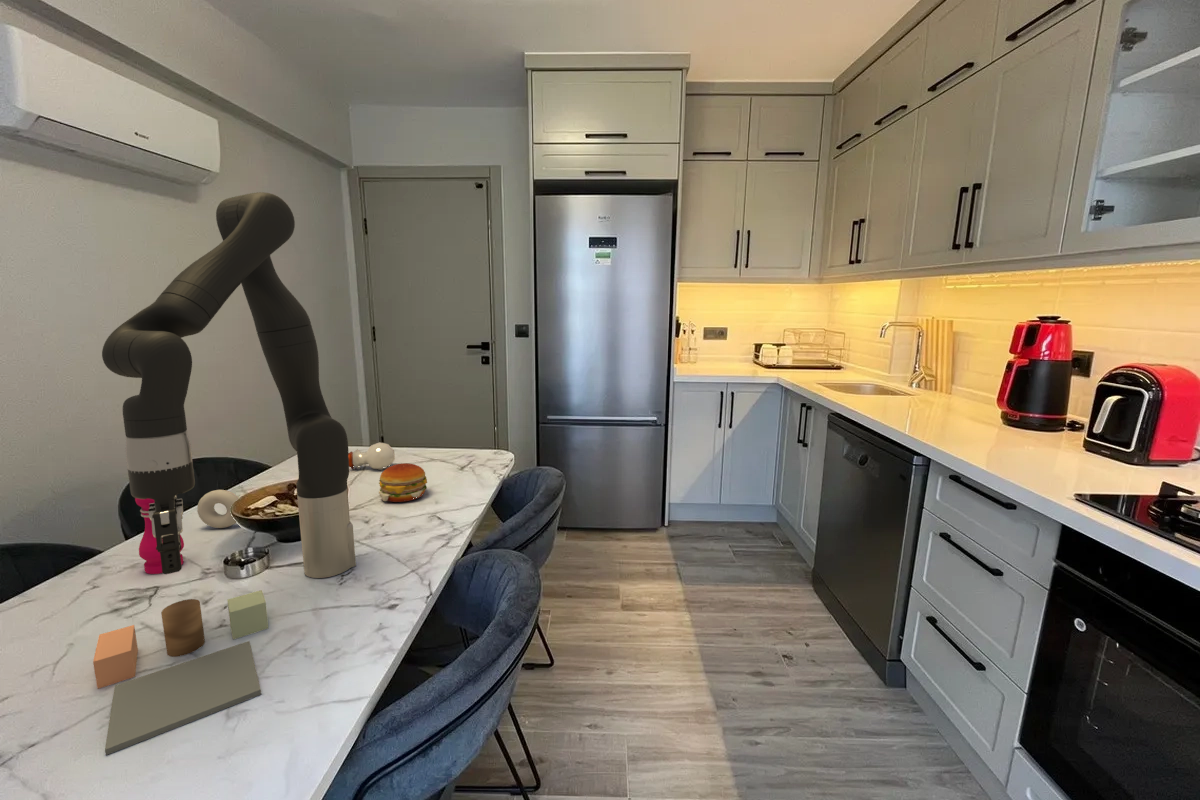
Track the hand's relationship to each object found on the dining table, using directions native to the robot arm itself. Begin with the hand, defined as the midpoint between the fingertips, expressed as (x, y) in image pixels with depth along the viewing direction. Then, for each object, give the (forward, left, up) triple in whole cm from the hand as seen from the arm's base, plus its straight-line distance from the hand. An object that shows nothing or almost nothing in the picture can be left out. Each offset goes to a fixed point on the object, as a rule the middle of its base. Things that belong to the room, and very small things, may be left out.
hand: (172, 561), depth 80 cm
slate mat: (0, +13, -15) cm, 20 cm away
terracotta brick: (+8, 0, -15) cm, 17 cm away
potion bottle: (-52, -81, -15) cm, 97 cm away
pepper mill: (+3, -36, -15) cm, 39 cm away
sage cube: (-9, 0, -15) cm, 17 cm away
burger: (-51, -47, -15) cm, 71 cm away
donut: (-8, -53, -15) cm, 56 cm away
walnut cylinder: (0, 0, -15) cm, 15 cm away
